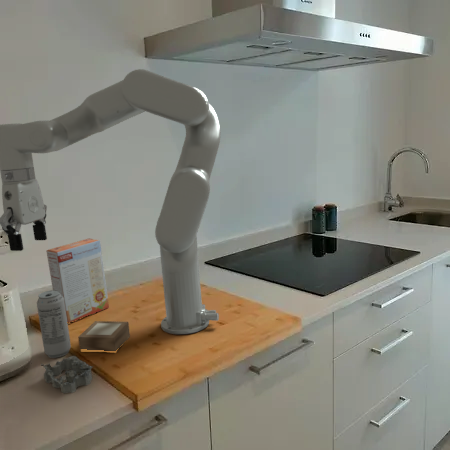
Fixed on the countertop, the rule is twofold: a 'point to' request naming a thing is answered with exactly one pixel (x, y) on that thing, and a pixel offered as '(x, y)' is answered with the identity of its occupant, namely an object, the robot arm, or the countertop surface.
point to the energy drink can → (53, 323)
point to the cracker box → (79, 277)
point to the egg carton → (68, 374)
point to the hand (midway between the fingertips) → (29, 245)
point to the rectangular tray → (104, 335)
